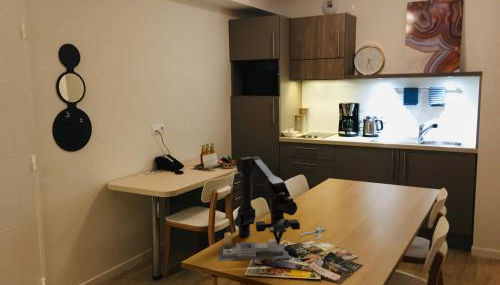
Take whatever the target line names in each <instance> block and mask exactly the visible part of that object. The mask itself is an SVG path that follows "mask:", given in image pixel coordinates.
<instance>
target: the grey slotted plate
mask: <svg viewBox="0 0 500 285" xmlns="http://www.w3.org/2000/svg"><path fill="white" fill-rule="evenodd" d="M263 255H284V251H283V248H282V247H277V251H258V256H263ZM223 257H237V258H250V257H256V253H244V254H237V249H223Z"/></svg>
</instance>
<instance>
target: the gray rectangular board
mask: <svg viewBox="0 0 500 285" xmlns="http://www.w3.org/2000/svg"><path fill="white" fill-rule="evenodd" d="M277 247H282V248H283V251H284V255H263V256H258V251H257V252H256V257H250V258H237V257H223V249H225V245H220V246H219V248H218V258H217V259H218V260H217V261H219V262H223V261H225V262H226V261H227V262H228V261H229V262H230V261H247V260H249V261H250V260H268V259H269V260H270V259H275V260H276V259H290V256H289V251H288V250H287V251H285V249H284V248H285V247H286V248H287V246H286V244H285V243H279V245H277ZM231 249H237V245H231Z"/></svg>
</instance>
